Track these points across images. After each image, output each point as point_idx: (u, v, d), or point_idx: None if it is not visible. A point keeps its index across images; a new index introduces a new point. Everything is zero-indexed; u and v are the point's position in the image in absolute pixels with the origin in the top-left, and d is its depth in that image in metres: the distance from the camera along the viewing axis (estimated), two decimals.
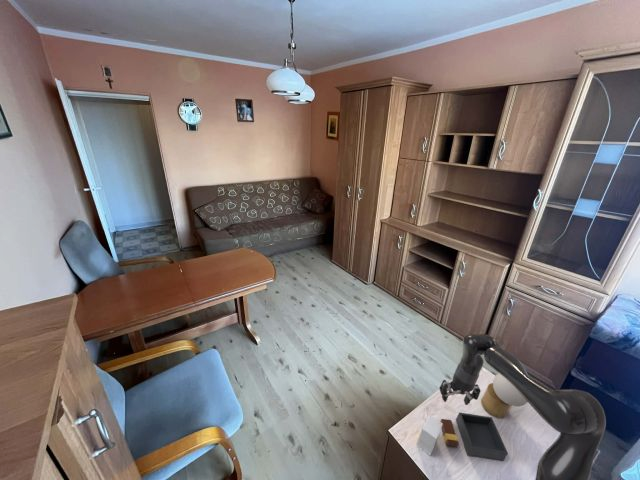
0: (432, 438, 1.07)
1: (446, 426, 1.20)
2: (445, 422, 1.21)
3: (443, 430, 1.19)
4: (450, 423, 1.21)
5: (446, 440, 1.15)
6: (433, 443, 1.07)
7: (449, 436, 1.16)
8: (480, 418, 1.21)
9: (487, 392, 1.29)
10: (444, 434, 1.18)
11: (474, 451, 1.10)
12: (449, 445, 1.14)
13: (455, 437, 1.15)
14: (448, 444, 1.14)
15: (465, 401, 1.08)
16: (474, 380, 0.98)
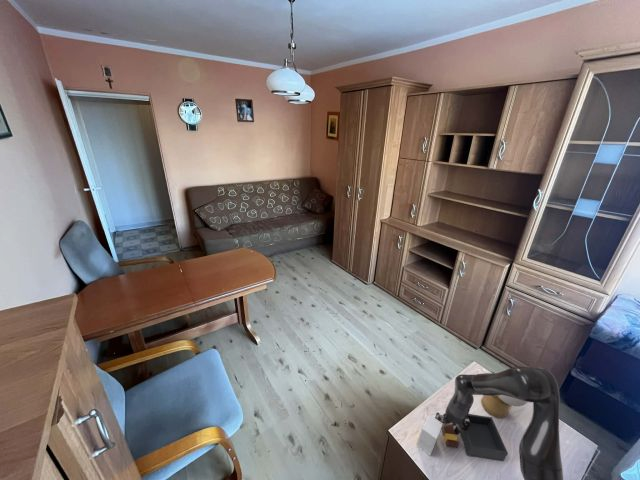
0: (432, 438, 1.07)
1: None
2: (445, 422, 1.21)
3: (443, 430, 1.19)
4: None
5: (446, 440, 1.15)
6: (433, 443, 1.07)
7: (449, 436, 1.16)
8: (480, 418, 1.21)
9: None
10: (444, 434, 1.18)
11: (474, 451, 1.10)
12: (449, 445, 1.14)
13: (455, 437, 1.15)
14: (448, 444, 1.14)
15: (456, 431, 1.18)
16: (465, 415, 1.07)
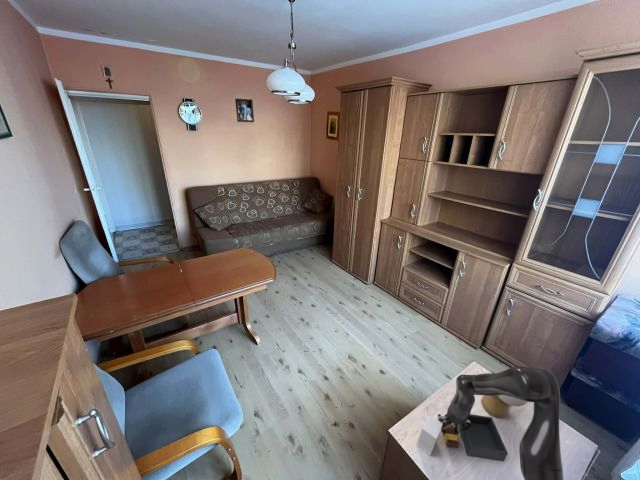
0: (432, 438, 1.07)
1: None
2: None
3: None
4: None
5: (446, 440, 1.15)
6: (433, 443, 1.07)
7: (449, 436, 1.16)
8: (480, 418, 1.21)
9: None
10: (444, 434, 1.18)
11: (474, 451, 1.10)
12: (449, 445, 1.14)
13: (455, 437, 1.15)
14: (448, 444, 1.14)
15: None
16: (466, 416, 1.07)
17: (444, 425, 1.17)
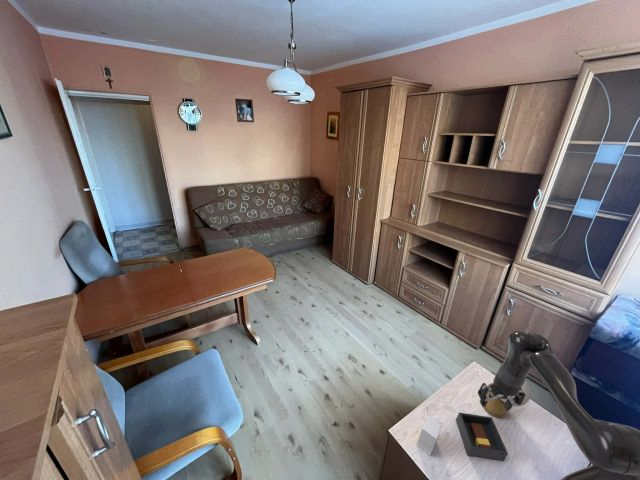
0: (432, 438, 1.07)
1: (477, 430, 1.18)
2: (475, 426, 1.19)
3: (474, 434, 1.17)
4: (480, 427, 1.19)
5: (478, 445, 1.13)
6: (433, 443, 1.07)
7: (481, 441, 1.14)
8: (480, 418, 1.21)
9: None
10: (475, 438, 1.16)
11: (474, 451, 1.10)
12: None
13: (487, 442, 1.13)
14: None
15: (506, 406, 0.98)
16: (521, 383, 0.88)
17: (485, 396, 0.97)
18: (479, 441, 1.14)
